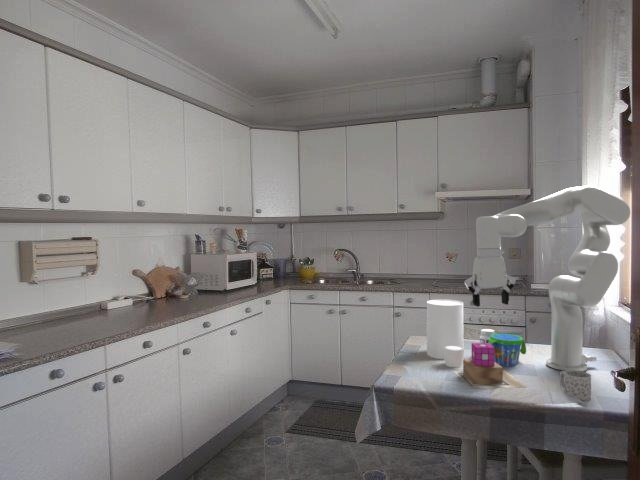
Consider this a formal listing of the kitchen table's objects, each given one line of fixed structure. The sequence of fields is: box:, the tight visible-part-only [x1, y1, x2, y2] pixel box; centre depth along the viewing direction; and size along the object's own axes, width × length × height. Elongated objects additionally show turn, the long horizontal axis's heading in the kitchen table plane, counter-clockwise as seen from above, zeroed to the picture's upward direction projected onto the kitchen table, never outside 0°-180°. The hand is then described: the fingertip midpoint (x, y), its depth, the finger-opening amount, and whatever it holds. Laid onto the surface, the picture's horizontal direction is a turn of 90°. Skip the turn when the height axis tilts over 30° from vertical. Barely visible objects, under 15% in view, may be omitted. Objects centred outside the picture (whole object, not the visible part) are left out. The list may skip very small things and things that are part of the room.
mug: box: [559, 370, 592, 402], centre depth 133 cm, size 10×7×7 cm
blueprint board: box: [453, 369, 528, 390], centre depth 144 cm, size 17×16×1 cm
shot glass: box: [444, 345, 465, 368], centre depth 159 cm, size 7×7×7 cm
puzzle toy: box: [471, 342, 495, 366], centre depth 144 cm, size 6×6×6 cm
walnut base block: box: [462, 358, 504, 384], centre depth 144 cm, size 9×9×5 cm
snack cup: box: [488, 333, 527, 367], centre depth 160 cm, size 16×10×10 cm
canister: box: [426, 299, 464, 360], centre depth 174 cm, size 14×14×20 cm
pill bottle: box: [479, 328, 495, 343], centre depth 171 cm, size 6×6×10 cm
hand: (490, 304), depth 151 cm, fingers open, 9 cm apart
